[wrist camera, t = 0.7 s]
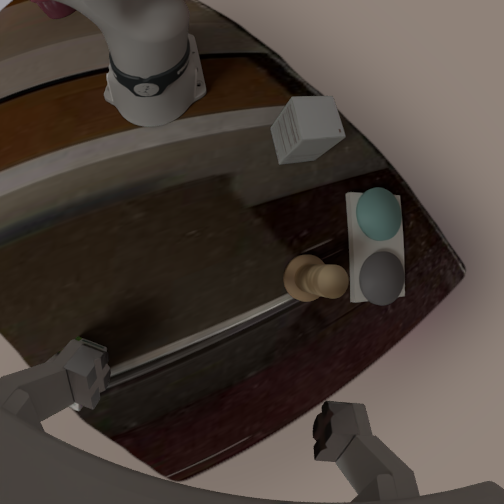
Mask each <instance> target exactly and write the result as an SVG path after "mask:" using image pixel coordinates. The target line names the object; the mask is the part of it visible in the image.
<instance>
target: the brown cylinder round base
mask: <svg viewBox="0 0 504 504" xmlns="http://www.w3.org/2000/svg"><path fill="white" fill-rule="evenodd" d="M283 282H284V286H285V289H286V291H287V292H288V293H289V294H290V295H291V296H292V297H293V298H295V299H297V300H300V301H305V302H306V301H313V300H315V299H317V298H319V297H320V296H323V297H327V298H332V299H334V298H338V297H340V296H342V295H343V294H344V293H345V291H346V289H347V287H348V275H347V273H346V271H345V270H344V269H343V268H342V267H341V266H339V265H325V264H324V262H323V261H322V260H321V259H319V258H318V257H316V256H313V255H300V256H297V257H295V258H293V259H292V260H291V261H290V262H289V263H288V264H287V266H286V268H285V270H284V275H283Z"/></svg>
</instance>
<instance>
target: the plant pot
mask: <svg viewBox="0 0 504 504" xmlns="http://www.w3.org/2000/svg"><path fill="white" fill-rule="evenodd" d="M30 1H31V2H34V3H37V4H38V6H39V7H40V8H41V9H42V10H43V11H44V12H45V13H46V14H47V15H48V16H49V17H50V18H52V19H59V18H63V17H66V16H68V15H70V14H71V13H73V12H74V11H76V9H74V8H72V7H70V6H68V5H66V4H63V3H60V2H57V1H54V0H30Z"/></svg>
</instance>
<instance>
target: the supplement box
mask: <svg viewBox="0 0 504 504" xmlns="http://www.w3.org/2000/svg"><path fill="white" fill-rule="evenodd" d="M270 129H271V133H272V137H273V141H274V145H275V149H276V153H277V158H278V162H279V164H289V163H297V162H305V161H314V160H316V159H317V158H318V157H320V156H321V155H322V154H324V153H325V152H326V151H328V150H329V149H330V148H332V147H333V146H334V145H336V144H337V143H338V142H340V141H341V140H342V139H344V138H345V137H346V136H345V133H344V129H343V126H342V123H341V119H340V116H339V113H338V110H337V107H336V104H335V101H334V98H333V96H301V97H291V99H290V100H289V102H288V103H287V105H286V106H285V107H284V109H283V110H282V112H281V113H280V115H279V116H278V118H277V119H276V121H275V122H274V124H273V125H272V127H271V128H270Z"/></svg>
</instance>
